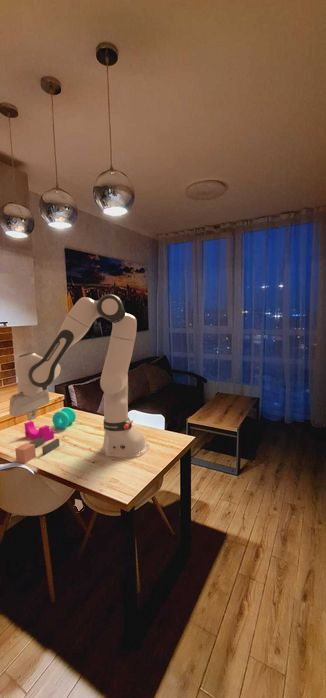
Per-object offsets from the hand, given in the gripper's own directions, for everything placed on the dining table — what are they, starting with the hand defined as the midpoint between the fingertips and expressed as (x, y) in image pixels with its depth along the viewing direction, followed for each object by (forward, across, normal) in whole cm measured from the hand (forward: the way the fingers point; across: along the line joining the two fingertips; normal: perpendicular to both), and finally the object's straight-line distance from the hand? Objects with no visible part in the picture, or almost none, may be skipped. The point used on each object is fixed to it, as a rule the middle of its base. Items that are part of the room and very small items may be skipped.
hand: (31, 419), depth 132 cm
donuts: (+17, +33, +9) cm, 38 cm away
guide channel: (+16, +6, 0) cm, 17 cm away
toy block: (+17, +16, +12) cm, 26 cm away
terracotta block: (+16, -5, 0) cm, 17 cm away
